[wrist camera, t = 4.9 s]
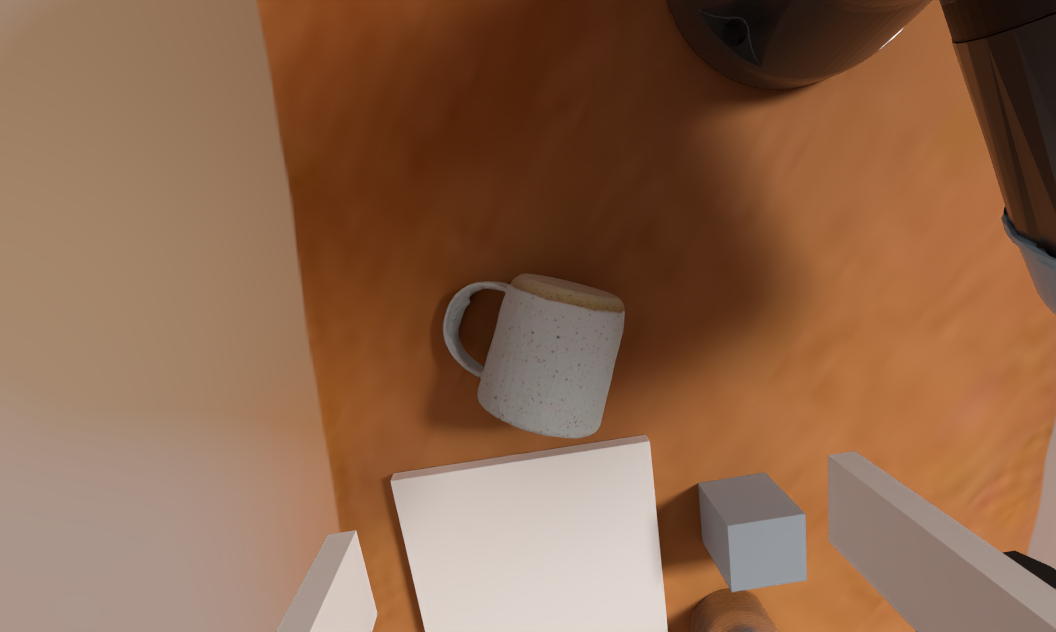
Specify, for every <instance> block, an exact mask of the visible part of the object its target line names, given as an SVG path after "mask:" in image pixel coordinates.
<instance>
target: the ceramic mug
mask: <svg viewBox="0 0 1056 632" xmlns="http://www.w3.org/2000/svg"><path fill="white" fill-rule="evenodd" d="M484 288H486V289H496V290H498V291H503V292H505V296H504V298H503V302H502V305H501V308H500V312H499V316H498V321H497V325H496V329H495V332H494V336H493V340H492V343H491V346H490V349H489V352H488V355H487V359H486V363H485V366H483V365H481V364H479V363H478V362H477V361H475V360H474V359H473V358H472V357H471V356H470V355H469V354H468V353H467V352H466V351H465V350H464V348H463V346H462V345H461V342H460V340H459V331H458V330H459V326H460V323H461V320H462V317H463V314H464V311H465V309H466V307H467V306H468V305H469V304H470V296H471V295H472V294H473V293H474V292H477V291H479V290H482V289H484ZM624 318H625V307H624V304H623V302H622V301H621V299H620V298H619V297H617V296H616V295H614V294H611V293H609V292H606V291H603V290H600V289H596V288H593V287H589V286H586V285H582V284H579V283H575V282H571V281H567V280H562V279H557V278H553V277H548V276H543V275H537V274H529V273H524V274H521V275H519V276H517V277H515V278H514V279H513V280H512V282H511V284H507V283H504V282H476V283H472V284H470V285H468V286H466V287H464V288H462V289H461V290H460V291H459V292H458V293H456V294H455V296H454V297H453V298H452V300H451V301H450V303H449V305H448V307H447V310H446V313H445V317H444V322H443V336H444V340H445V343H446V346H447V348H448V350H449V351H450V353H451V355H452V356H453V357H454V359H455V360H456V361H457V362H458V363H459V364H460V365H461V366H462V367H464V368H465V369H466V370H468V371H469V372H470V373H472V374H474V375H475V376H477V377H479V378H480V379H481V380H480V384H479V387H478V391H477V398H478V401H479V403H480V404H481V406H482V407H483V408H484V409H485V410H486V411H487V412H489V413H490V414H492V415H493V416H495V417H496V418H498V419H500V420H501V421H504V422H506V423H509V424H510V425H512V426H515V427H517V428H520V429H523V430H525V431H529V432H533V433H536V434H540V435H545V436H552V437H560V438H575V439H577V438H583V437H587V436H589V435H592V434H594V433H595V432H596V431H597V430H598V429H599V427H600V425H601V421H602V416H603V412H604V408H605V404H606V399H607V395H608V392H609V387H610V384H611V380H612V375H613V370H614V365H615V361H616V357H617V354H618V350H619V346H620V342H621V339H622V334H623V329H624Z"/></svg>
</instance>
